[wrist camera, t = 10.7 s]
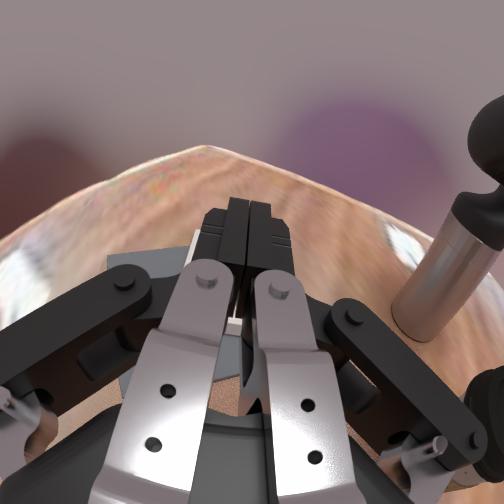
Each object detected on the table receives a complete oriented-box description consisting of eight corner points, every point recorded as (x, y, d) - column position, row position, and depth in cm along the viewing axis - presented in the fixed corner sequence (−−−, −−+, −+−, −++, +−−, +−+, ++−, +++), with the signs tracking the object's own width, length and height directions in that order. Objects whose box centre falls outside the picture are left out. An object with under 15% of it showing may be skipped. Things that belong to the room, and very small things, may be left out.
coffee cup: (352, 511, 14) (484, 483, 5) (368, 426, 22) (472, 348, 13) (426, 507, 13) (545, 462, 4) (433, 434, 21) (530, 365, 12)
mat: (264, 240, 44) (265, 237, 44) (334, 342, 31) (336, 340, 30) (107, 258, 34) (107, 255, 33) (123, 399, 20) (122, 397, 20)
